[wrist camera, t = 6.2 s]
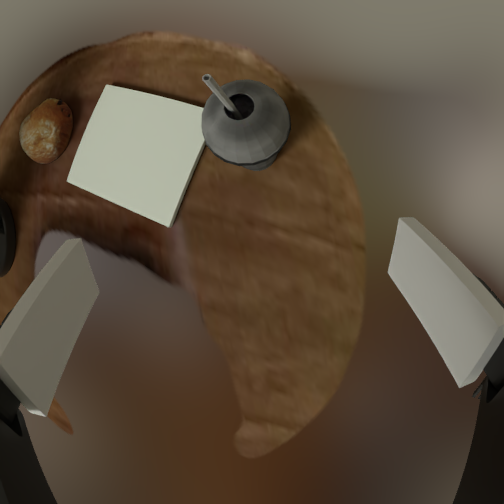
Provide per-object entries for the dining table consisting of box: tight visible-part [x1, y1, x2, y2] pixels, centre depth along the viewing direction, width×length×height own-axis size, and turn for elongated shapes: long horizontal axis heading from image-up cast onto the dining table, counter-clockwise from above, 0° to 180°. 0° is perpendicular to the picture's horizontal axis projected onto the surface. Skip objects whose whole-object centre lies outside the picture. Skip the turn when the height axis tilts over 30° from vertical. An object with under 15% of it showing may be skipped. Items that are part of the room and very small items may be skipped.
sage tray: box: [67, 85, 206, 227], centre depth 35 cm, size 18×15×1 cm
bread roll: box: [19, 98, 73, 164], centre depth 34 cm, size 10×10×8 cm
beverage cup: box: [201, 74, 291, 171], centre depth 24 cm, size 7×7×20 cm
